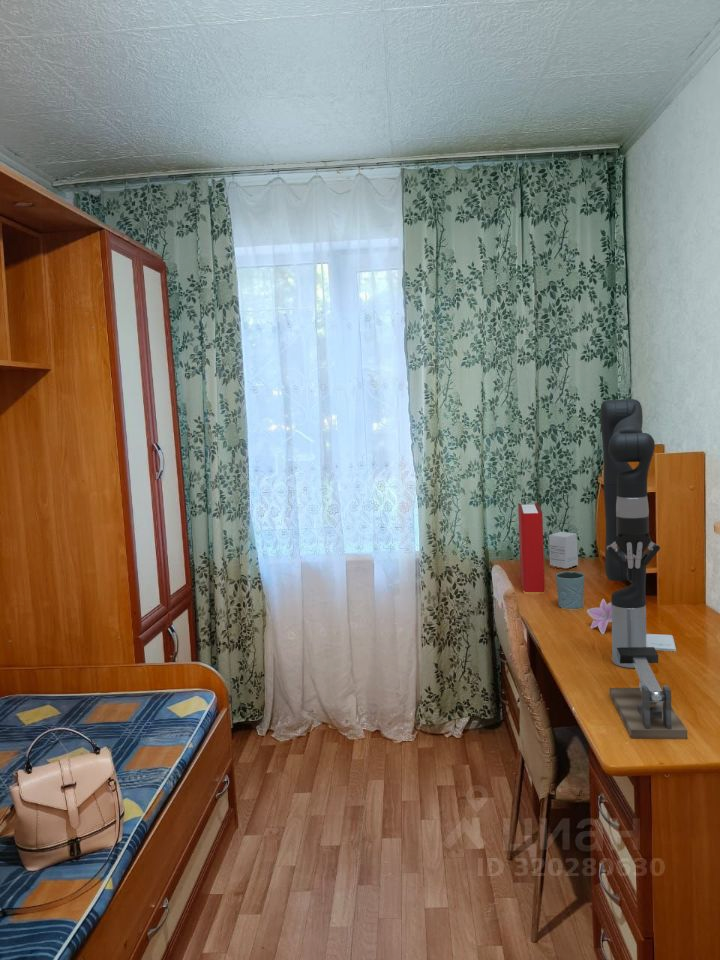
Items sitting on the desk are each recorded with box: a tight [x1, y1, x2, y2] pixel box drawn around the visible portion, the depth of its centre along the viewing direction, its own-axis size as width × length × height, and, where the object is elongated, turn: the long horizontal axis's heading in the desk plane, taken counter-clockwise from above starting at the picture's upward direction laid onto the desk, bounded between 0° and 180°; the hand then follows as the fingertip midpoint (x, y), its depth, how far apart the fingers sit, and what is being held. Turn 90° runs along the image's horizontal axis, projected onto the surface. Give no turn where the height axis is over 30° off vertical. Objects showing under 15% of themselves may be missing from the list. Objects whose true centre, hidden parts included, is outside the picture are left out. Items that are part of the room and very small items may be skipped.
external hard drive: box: [646, 633, 677, 653], centre depth 225 cm, size 2×8×12 cm
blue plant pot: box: [555, 570, 586, 610], centre depth 267 cm, size 10×10×12 cm
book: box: [517, 502, 546, 592], centre depth 298 cm, size 27×8×32 cm, turn 170°
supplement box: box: [548, 531, 579, 568], centre depth 326 cm, size 9×9×15 cm
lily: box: [586, 598, 612, 635], centre depth 241 cm, size 12×12×10 cm
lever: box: [617, 647, 665, 702], centre depth 176 cm, size 21×9×4 cm, turn 173°
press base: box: [609, 684, 688, 740], centre depth 177 cm, size 24×12×11 cm, turn 173°
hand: (633, 582), depth 185 cm, fingers closed
